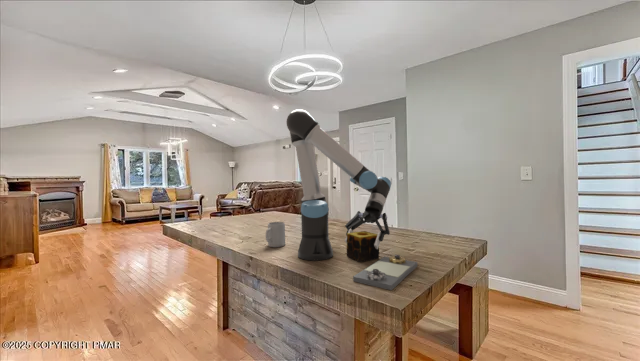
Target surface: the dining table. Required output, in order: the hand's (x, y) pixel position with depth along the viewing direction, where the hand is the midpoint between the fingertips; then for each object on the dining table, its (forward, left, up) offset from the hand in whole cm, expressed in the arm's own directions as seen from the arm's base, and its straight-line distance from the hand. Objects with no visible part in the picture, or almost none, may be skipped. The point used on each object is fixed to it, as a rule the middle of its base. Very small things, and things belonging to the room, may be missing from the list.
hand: (360, 245), depth 113 cm
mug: (-45, -5, -6) cm, 46 cm away
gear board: (+16, -10, -5) cm, 20 cm away
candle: (0, +1, -6) cm, 6 cm away
